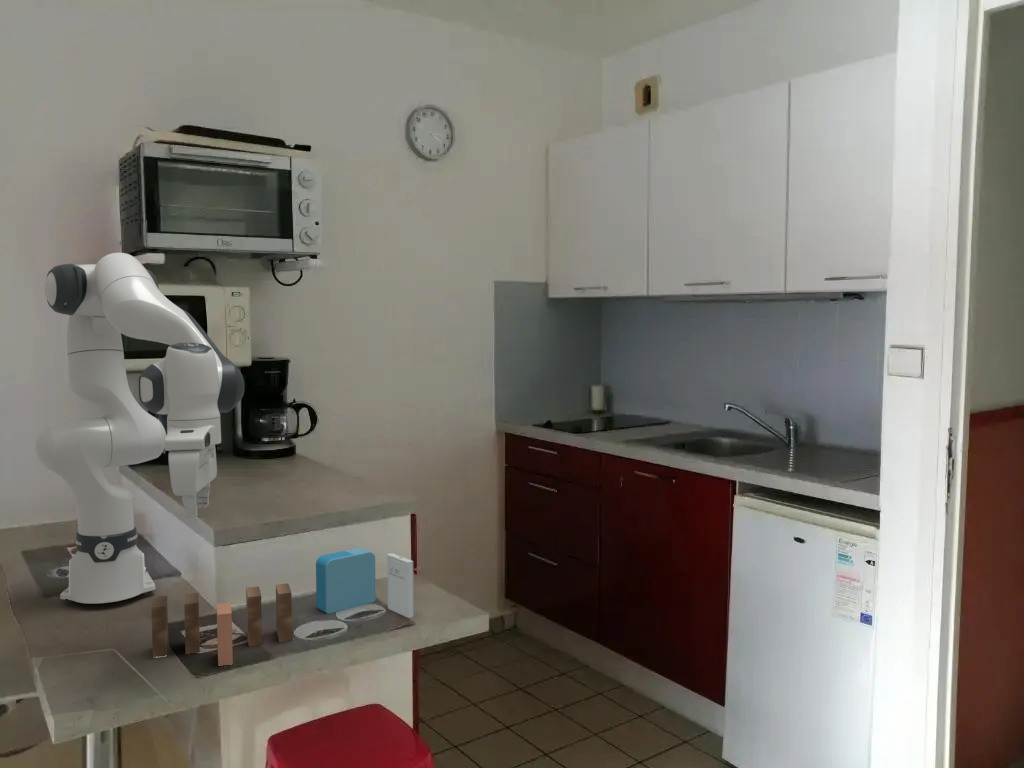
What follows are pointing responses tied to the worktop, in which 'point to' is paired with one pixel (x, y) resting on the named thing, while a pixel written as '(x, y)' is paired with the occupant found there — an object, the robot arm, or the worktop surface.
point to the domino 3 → (224, 634)
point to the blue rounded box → (345, 580)
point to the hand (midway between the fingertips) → (197, 512)
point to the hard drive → (400, 585)
